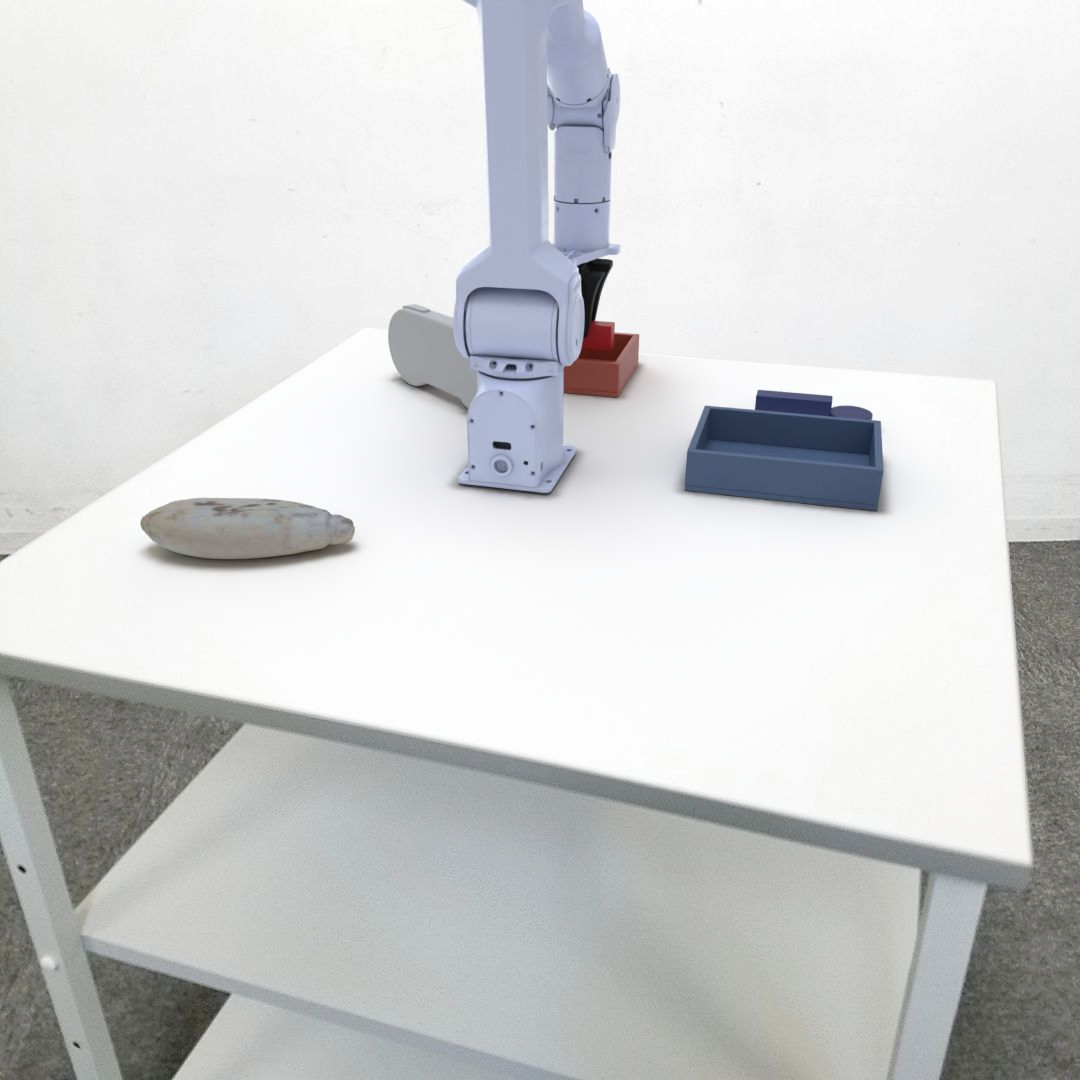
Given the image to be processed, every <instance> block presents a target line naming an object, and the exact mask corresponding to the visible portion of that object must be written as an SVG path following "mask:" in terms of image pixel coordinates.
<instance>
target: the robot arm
mask: <svg viewBox="0 0 1080 1080" xmlns="http://www.w3.org/2000/svg"><path fill="white" fill-rule="evenodd" d="M461 1H462V2H464V3H466V4H468V5H469V6H471V7H472V8H475V10H476V14H477V20H478V28H479V34H480V45H481V68H482V90H483V91H482V92H483V93H482V94H483V112H484V113H483V116H484V117H483V118H484V140H485V141H484V142H485V163H486V164H485V165H486V188H487V189H486V190H487V191H486V192H487V194H486V195H487V213H488V214H487V216H488V241H489V244H488V245H486V246H485V247H484V248H482V249H481V250H480V251H479V252H477V253H476V254H475V255H473V256H472V257H471V258H469V259H468V260H467V261H465V262H464V264H463V265H462V266H461V268H460V270H459V273H458V275H457V277H456V280H455V302H454V308H453V309H454V310H453V317H452V318H453V331H454V339H455V343H456V346H457V348H458V350H459V351H460V352H461V354H462V356H463V357H464V358H466V359H470V369H471V370H476V371H477V394H476V396H475V398H474V399H473V401H472V402H471V404H470V406H469V409H468V408H467V413H466V429H467V430H466V435H467V436H466V437H467V461H468V462H467V466H466V467H465V468H464V470H462V472H461V474H459V476H458V477H457V481H458V483H459V484H461V485H470V486H479V487H486V488H487V487H488V488H497V489H506V490H512V491H513V490H514V491H522V492H523V491H524V492H531V493H540V494H541V493H542V494H548V493H551V492H552V491H553V489H554V488H555V486H556V484H557V483H558V481H559V480H560V478H561V477H562V475H563V473H564V471H565V470H566V469H567V467H568V466H569V464H570V463H571V461H572V459H573V458H574V456H575V454H576V452H577V448H576V447H575V446H572V445H564V394H565V393H564V367H565V366H571V365H572V364H573V362H574V361H575V360H576V359H577V358H578V357H579V354H580V351H581V347H582V342H583V338H586V337H587V335H588V332H589V329H590V324H591V321H596V318H597V314H598V309H599V305H600V300H601V297H602V291H603V288H604V285H605V283H606V280H607V278H608V276H609V273H611V270H612V268H613V266H614V260H612V259H609V258H604V257H608V256H609V255H610V256H614V255H615V256H616V255H619V254H620V253H621V252H622V245H621V244H619V243H611V242H610V237H611V236H610V234H611V233H610V231H611V199H612V169H613V168H612V163H613V160H612V159H613V157H612V156H613V154H612V153H613V151H614V150H615V149H616V141H617V126H618V121H619V115H620V108H621V83H620V78H619V75H618V73H614V74H613V73H612V71H611V69H610V68H609V67H608V62H607V58H606V52H605V48H604V42H603V38H602V32H601V27H600V24H599V23H598V20H597V19H596V18H595V17H594V16H593V14H591V13H590V12H589V11H587V10H584V0H461ZM549 130H550V131H552V132H553V131H554V132H553V142H552V143H553V147H552V148H553V149H552V150H553V152H552V153H553V157H552V158H553V160H552V161H553V163H552V164H553V171H552V174H553V176H552V177H553V179H552V181H553V182H552V187H553V188H552V189H553V191H552V192H553V193H552V195H553V196H552V197H553V199H552V202H553V203H552V205H553V206H552V216H553V217H552V224H553V225H552V235H553V236H552V242H551V241H550V220H549V219H550V210H549V209H550V208H549V200H550V197H549V196H550V195H549Z"/></svg>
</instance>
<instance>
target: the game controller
mask: <svg viewBox="0 0 1080 1080" xmlns="http://www.w3.org/2000/svg"><path fill="white" fill-rule="evenodd" d="M387 341H388V348H389V353H390V356H391V359H392V362H393V365H394V367H395V369H396V371H397V372H398V374H399V376H400V377H401V378H402V380H404V381H405V382H406V383H407V384H409V385H411V386H414V387H421V386H426V385H430V386H431V387H434V388H437V389H439V390H441V391H443V392H446V393H448V394H451V395H452V396H455V397H456V398H458V399H459V400H460V401H461V403H462V404H463V405H464V406H465V408H466V409H467V410H468V409H469V406H470V404H471V402H472V401H473V399H474V398H475V396H476V394H477V371H476V370H471V369H470V359H466V358H464V357H463V356H462V354H461V352H460V351H459V350H458V348H457V346H456V343H455V339H454V331H453V317H452V316H449V315H446V314H444V313H441V312H437V311H435V310H432V309H430V308H428V307H426V306H422V305H419V304H415V303H414V304H413V303H411V304H407V305H403V306H402V308H400V309H397V310H396V311H395V312H394V313H393V315H392V316H391V318H390V321H389V323H388V330H387Z"/></svg>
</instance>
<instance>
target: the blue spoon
mask: <svg viewBox="0 0 1080 1080" xmlns="http://www.w3.org/2000/svg"><path fill="white" fill-rule="evenodd" d="M833 397H834V396H833V395H827V394H815V393H803V392H790V391H778V390H768V389H767V390H765V389H757V392H756V395H755V402H754V403H755V405H754V410H762V411H774V412H785V413H796V414H808V415H819V416H831V417H842V418H853V419H865V420H873V416H874V415H873V412H872V411H871V410H869V409H867V408H863V407H861V406H855V405H836V406H833Z"/></svg>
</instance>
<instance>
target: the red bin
mask: <svg viewBox="0 0 1080 1080" xmlns="http://www.w3.org/2000/svg"><path fill="white" fill-rule="evenodd" d="M639 351H640V334H639V333H626V332H616V331H615V332H614V347H613V348H612V350H611V351H606V350H593V349H581V351H580V354H579V357H578V358H577V359H576V360H575V361H574V362H573V364H572V365H571V366H565V367H564V394H577V395H588V396H598V397H610V398H619V396H621V393H622V392H623V390H624V388H625V387H626V385H627V384H628V382H629V380H630V379H631V377H632V375H633V374H634V373H635V370H636V369H637V368H638V366H639Z"/></svg>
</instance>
